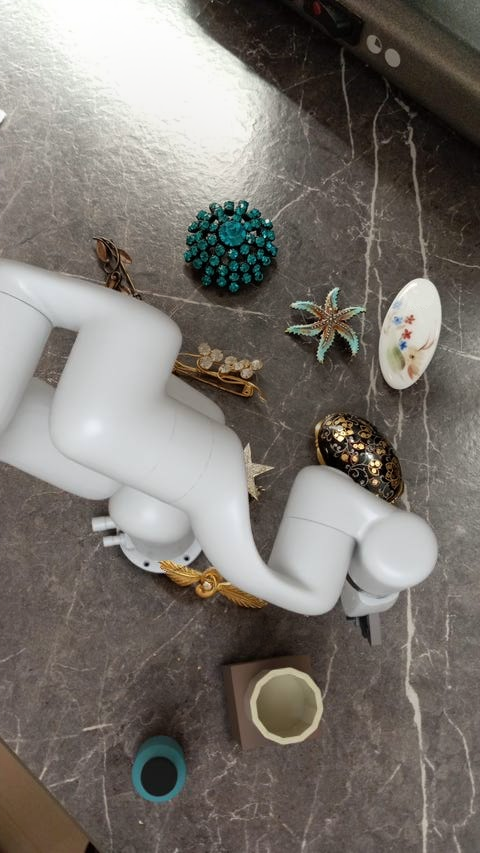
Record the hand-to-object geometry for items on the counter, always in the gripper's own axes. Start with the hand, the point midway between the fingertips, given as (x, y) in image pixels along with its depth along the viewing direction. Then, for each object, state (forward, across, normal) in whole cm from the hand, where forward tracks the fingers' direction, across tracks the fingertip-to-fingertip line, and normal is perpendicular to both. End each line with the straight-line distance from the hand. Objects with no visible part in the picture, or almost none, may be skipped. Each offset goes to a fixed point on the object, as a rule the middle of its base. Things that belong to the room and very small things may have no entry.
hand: (351, 577), depth 112 cm
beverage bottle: (+12, +19, -27) cm, 35 cm away
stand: (+12, +13, -13) cm, 22 cm away
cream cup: (-9, +13, -12) cm, 20 cm away
